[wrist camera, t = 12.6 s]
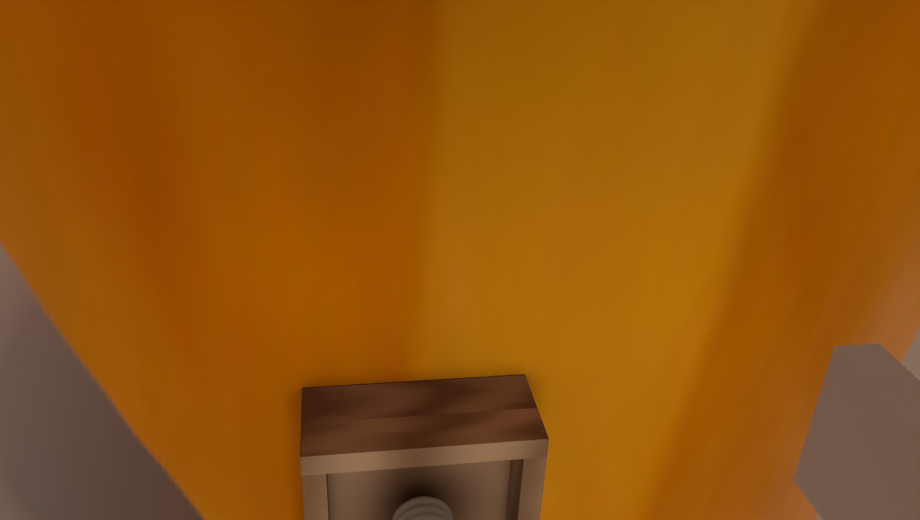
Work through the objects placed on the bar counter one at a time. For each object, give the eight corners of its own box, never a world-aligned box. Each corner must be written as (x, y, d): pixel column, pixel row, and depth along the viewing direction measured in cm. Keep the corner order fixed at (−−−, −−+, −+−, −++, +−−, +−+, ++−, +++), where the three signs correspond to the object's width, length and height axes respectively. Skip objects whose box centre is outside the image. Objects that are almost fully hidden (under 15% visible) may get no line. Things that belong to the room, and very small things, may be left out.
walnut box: (524, 374, 45) (548, 438, 41) (510, 532, 51) (529, 605, 46) (302, 388, 43) (299, 457, 39) (313, 550, 49) (312, 628, 44)
